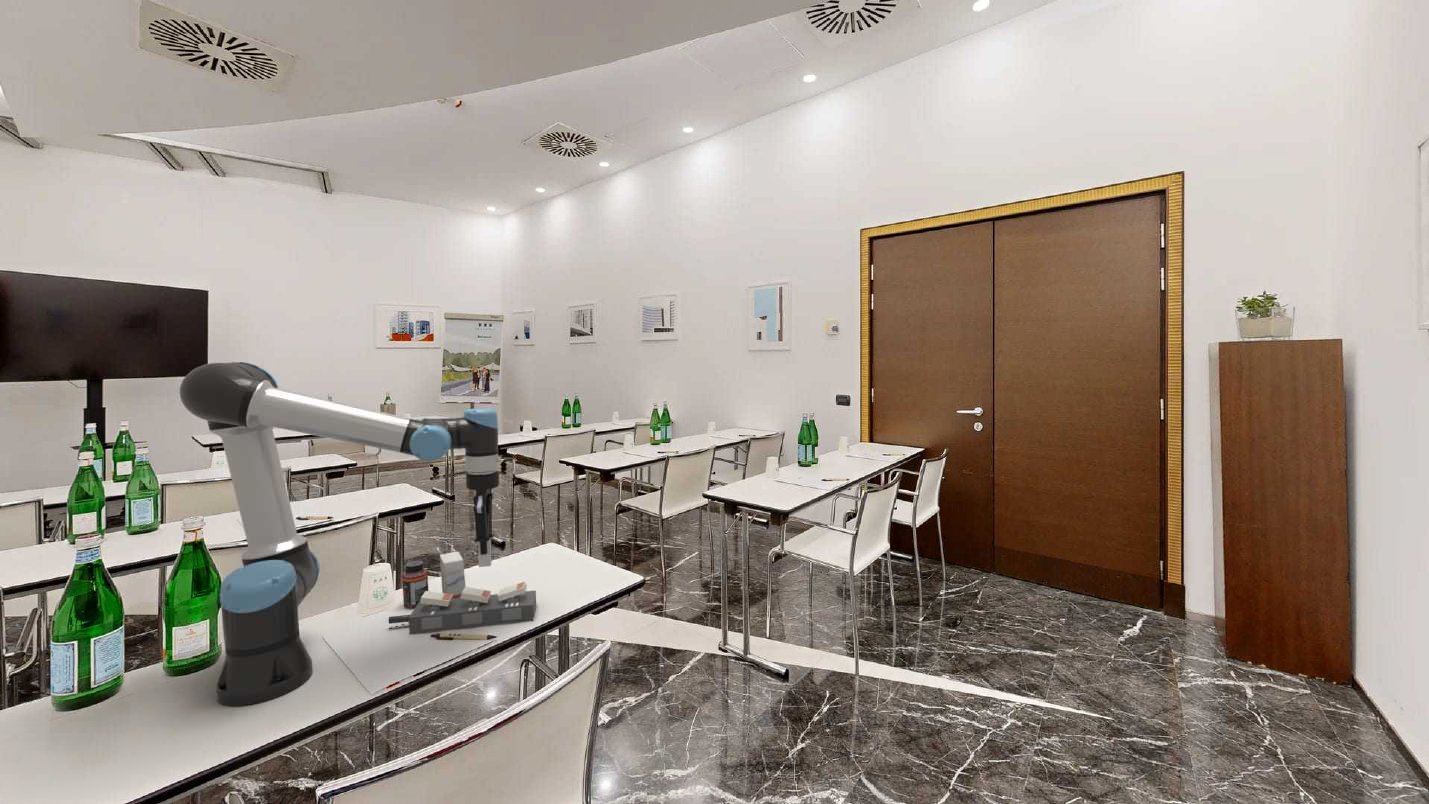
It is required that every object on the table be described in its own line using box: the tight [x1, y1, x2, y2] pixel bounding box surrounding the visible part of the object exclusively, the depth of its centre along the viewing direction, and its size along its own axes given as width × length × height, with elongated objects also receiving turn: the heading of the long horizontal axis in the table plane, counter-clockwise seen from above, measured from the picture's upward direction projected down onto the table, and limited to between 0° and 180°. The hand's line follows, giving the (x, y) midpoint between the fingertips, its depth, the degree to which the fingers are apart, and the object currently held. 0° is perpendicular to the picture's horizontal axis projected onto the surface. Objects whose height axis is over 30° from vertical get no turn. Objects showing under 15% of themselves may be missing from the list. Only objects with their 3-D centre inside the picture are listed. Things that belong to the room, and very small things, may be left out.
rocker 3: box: [497, 581, 528, 601], centre depth 143 cm, size 6×4×2 cm, turn 102°
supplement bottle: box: [401, 560, 429, 610], centre depth 150 cm, size 6×6×11 cm
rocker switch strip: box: [388, 590, 537, 635], centre depth 141 cm, size 34×9×5 cm, turn 103°
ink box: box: [439, 551, 467, 599], centre depth 153 cm, size 9×5×12 cm, turn 34°
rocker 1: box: [420, 590, 453, 607], centre depth 139 cm, size 6×4×2 cm, turn 104°
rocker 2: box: [461, 586, 492, 603], centre depth 141 cm, size 6×4×2 cm, turn 104°
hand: (485, 565), depth 141 cm, fingers closed
